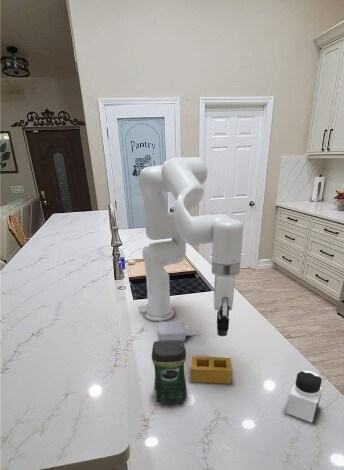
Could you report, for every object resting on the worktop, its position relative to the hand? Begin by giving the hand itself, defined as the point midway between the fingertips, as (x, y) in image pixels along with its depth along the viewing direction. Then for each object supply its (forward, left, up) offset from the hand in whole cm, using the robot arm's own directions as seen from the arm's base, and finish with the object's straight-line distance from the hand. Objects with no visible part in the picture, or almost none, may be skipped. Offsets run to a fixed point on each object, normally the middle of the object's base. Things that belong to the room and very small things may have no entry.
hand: (222, 326), depth 97 cm
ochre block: (-3, 0, -18) cm, 18 cm away
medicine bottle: (+22, -14, -18) cm, 32 cm away
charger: (-15, +23, -18) cm, 33 cm away
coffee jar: (-15, -11, -18) cm, 26 cm away
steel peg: (0, 0, -3) cm, 3 cm away
